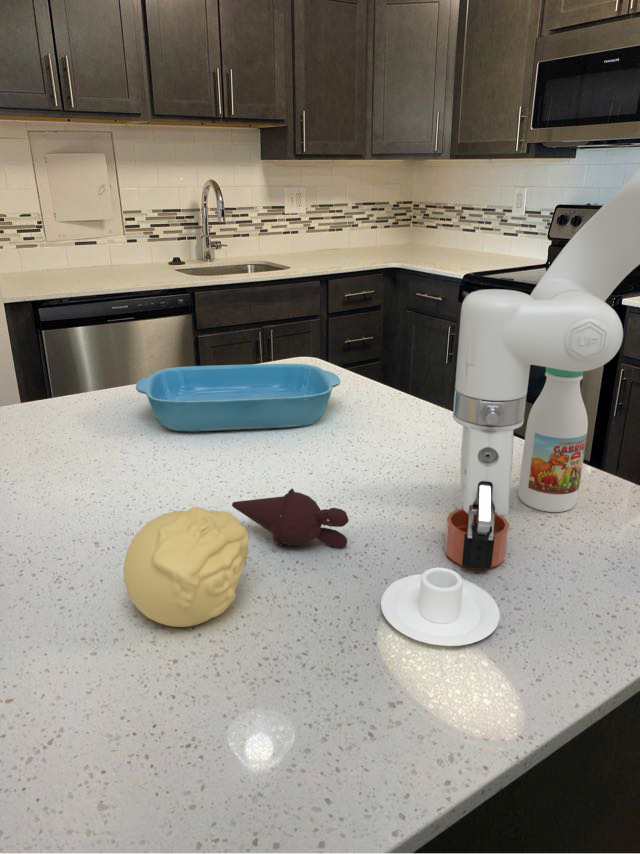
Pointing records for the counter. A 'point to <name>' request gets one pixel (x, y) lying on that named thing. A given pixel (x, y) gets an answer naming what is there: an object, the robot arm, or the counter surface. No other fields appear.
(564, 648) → the counter surface
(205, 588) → the sculpture
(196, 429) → the casserole dish
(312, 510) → the icecream
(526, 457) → the milk bottle
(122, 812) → the counter surface
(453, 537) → the bowl
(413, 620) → the candle holder
